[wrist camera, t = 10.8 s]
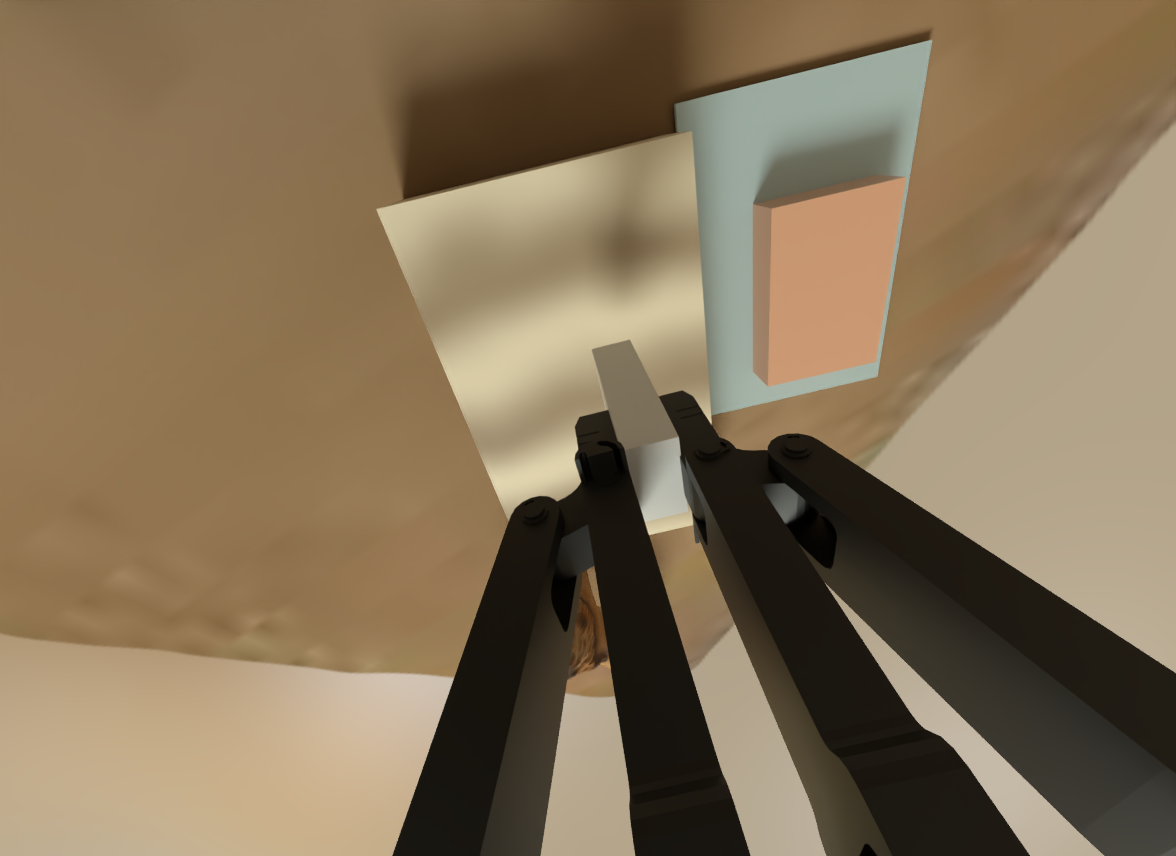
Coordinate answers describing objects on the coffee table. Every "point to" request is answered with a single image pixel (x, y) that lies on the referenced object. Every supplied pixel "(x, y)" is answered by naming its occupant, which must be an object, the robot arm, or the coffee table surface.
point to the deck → (558, 298)
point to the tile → (822, 277)
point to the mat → (789, 187)
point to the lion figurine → (588, 634)
